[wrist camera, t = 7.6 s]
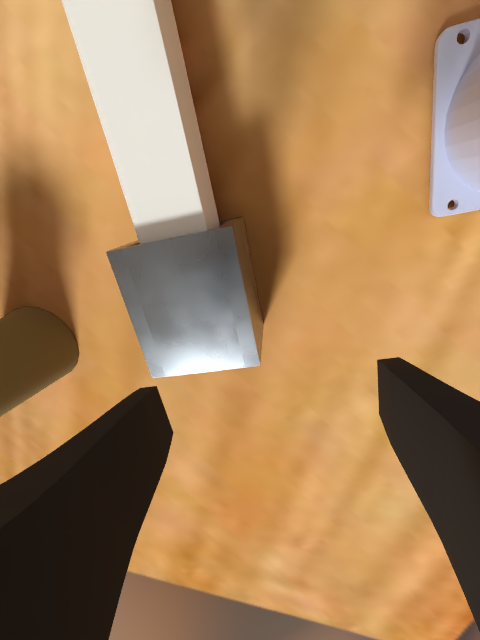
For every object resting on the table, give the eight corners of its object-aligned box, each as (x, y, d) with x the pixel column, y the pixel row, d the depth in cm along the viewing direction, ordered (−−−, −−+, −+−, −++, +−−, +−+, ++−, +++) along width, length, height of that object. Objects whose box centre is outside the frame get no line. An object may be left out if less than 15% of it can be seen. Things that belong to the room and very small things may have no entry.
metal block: (243, 217, 17) (231, 226, 13) (263, 324, 20) (260, 365, 15) (149, 236, 18) (105, 251, 14) (179, 336, 21) (152, 378, 16)
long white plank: (109, -290, 10) (37, -502, 7) (226, 248, 17) (215, 261, 14) (25, -242, 11) (-76, -419, 8) (170, 259, 18) (148, 273, 15)
